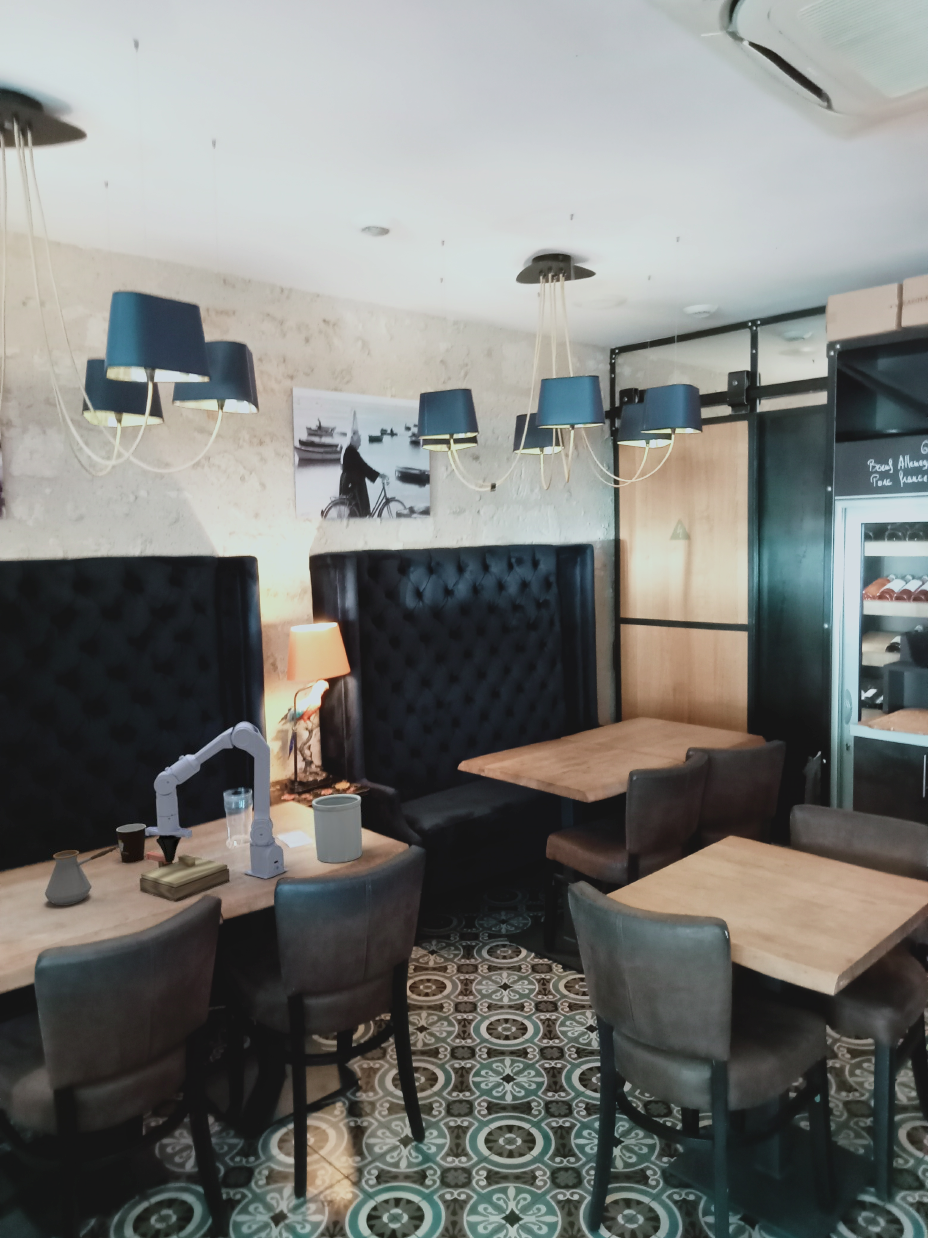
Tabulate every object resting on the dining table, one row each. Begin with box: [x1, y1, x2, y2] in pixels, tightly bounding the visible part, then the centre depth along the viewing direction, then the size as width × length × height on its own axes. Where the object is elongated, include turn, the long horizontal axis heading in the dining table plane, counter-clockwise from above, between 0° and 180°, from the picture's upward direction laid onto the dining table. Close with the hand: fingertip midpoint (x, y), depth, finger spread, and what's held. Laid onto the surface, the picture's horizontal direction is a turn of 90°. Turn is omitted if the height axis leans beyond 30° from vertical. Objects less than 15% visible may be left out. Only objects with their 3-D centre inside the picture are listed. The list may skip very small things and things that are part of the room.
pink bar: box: [144, 850, 169, 864], centre depth 251 cm, size 9×2×2 cm, turn 54°
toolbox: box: [139, 861, 230, 902], centre depth 244 cm, size 18×18×6 cm
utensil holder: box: [311, 793, 363, 864], centre depth 265 cm, size 15×15×18 cm
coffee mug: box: [116, 823, 147, 864], centre depth 270 cm, size 12×9×10 cm
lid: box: [140, 854, 228, 887], centre depth 244 cm, size 15×17×3 cm
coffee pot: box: [44, 845, 122, 906], centre depth 235 cm, size 21×12×15 cm, turn 84°
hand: (170, 861), depth 247 cm, fingers closed
